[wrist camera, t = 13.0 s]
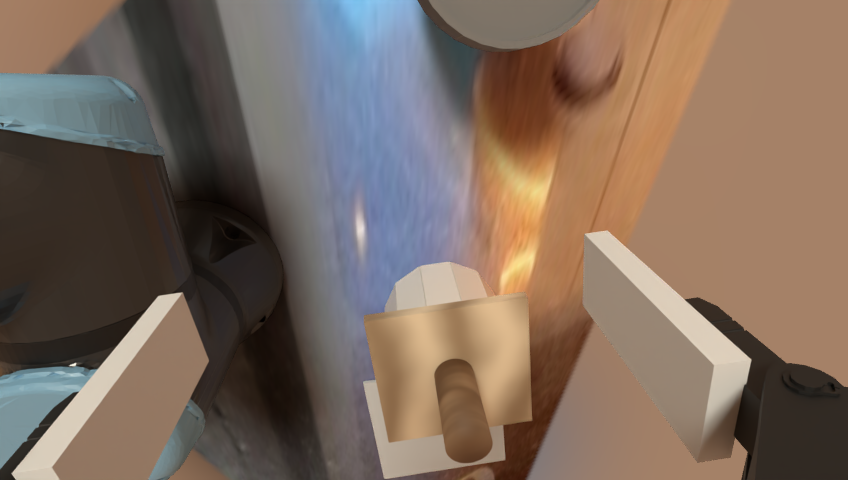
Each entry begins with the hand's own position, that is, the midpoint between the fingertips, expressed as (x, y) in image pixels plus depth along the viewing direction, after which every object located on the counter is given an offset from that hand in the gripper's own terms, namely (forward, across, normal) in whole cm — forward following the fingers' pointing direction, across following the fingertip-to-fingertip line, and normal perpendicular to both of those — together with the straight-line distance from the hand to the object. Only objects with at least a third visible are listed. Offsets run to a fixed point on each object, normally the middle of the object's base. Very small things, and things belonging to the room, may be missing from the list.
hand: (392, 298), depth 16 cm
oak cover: (+21, +3, -21) cm, 30 cm away
